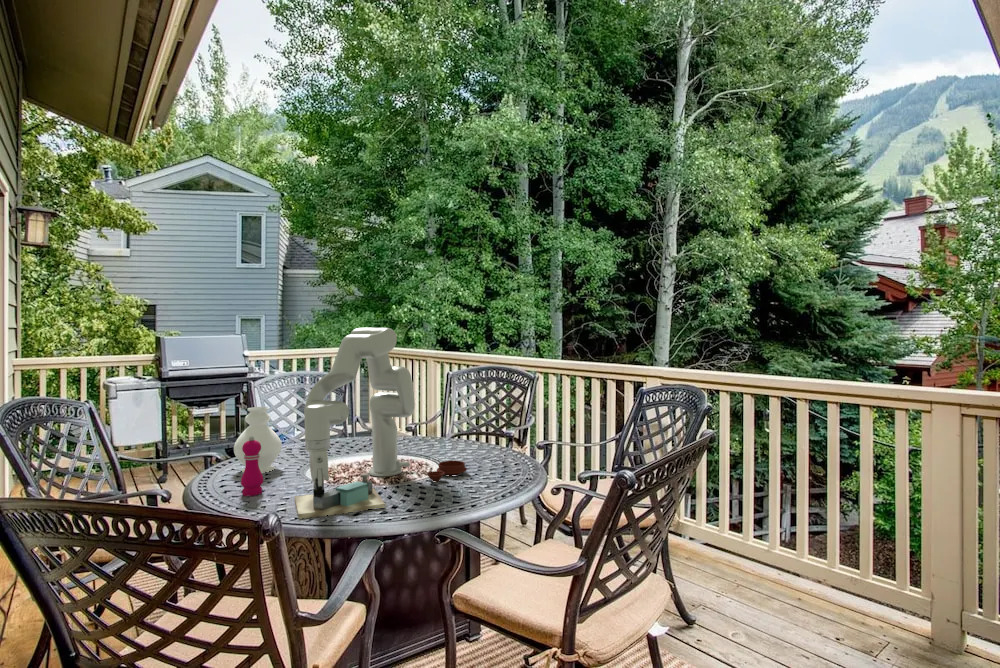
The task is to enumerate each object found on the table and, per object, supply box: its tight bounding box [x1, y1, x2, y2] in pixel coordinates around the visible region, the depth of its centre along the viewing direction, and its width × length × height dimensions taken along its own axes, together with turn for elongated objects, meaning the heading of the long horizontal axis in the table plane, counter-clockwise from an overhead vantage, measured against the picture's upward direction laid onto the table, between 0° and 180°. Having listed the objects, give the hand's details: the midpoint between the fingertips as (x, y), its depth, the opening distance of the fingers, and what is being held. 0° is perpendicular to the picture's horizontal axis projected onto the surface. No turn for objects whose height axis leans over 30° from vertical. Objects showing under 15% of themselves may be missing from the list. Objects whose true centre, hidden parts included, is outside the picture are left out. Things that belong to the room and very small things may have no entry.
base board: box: [294, 473, 386, 520], centre depth 192 cm, size 26×20×8 cm
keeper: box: [335, 480, 368, 506], centre depth 190 cm, size 9×5×5 cm, turn 147°
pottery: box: [426, 460, 468, 482], centre depth 226 cm, size 12×20×4 cm, turn 152°
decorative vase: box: [233, 406, 283, 474], centre depth 238 cm, size 18×18×25 cm
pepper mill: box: [240, 436, 264, 497], centre depth 205 cm, size 7×7×20 cm
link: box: [313, 480, 374, 510], centre depth 191 cm, size 22×5×4 cm, turn 148°
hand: (319, 501), depth 188 cm, fingers closed
